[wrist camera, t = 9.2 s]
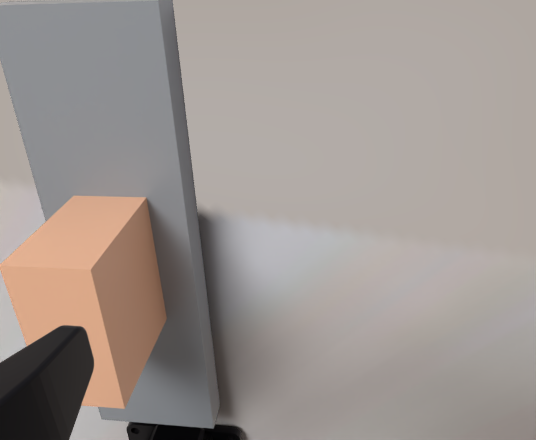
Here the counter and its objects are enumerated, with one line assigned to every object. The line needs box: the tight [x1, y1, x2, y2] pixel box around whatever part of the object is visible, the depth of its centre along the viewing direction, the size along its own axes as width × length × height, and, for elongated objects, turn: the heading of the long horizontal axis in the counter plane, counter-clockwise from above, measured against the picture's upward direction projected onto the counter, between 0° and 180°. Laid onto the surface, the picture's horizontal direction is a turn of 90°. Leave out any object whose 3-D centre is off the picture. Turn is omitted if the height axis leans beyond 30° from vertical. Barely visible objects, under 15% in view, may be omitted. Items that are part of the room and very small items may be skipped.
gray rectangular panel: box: [0, 0, 220, 429], centre depth 20 cm, size 20×6×6 cm, turn 2°
